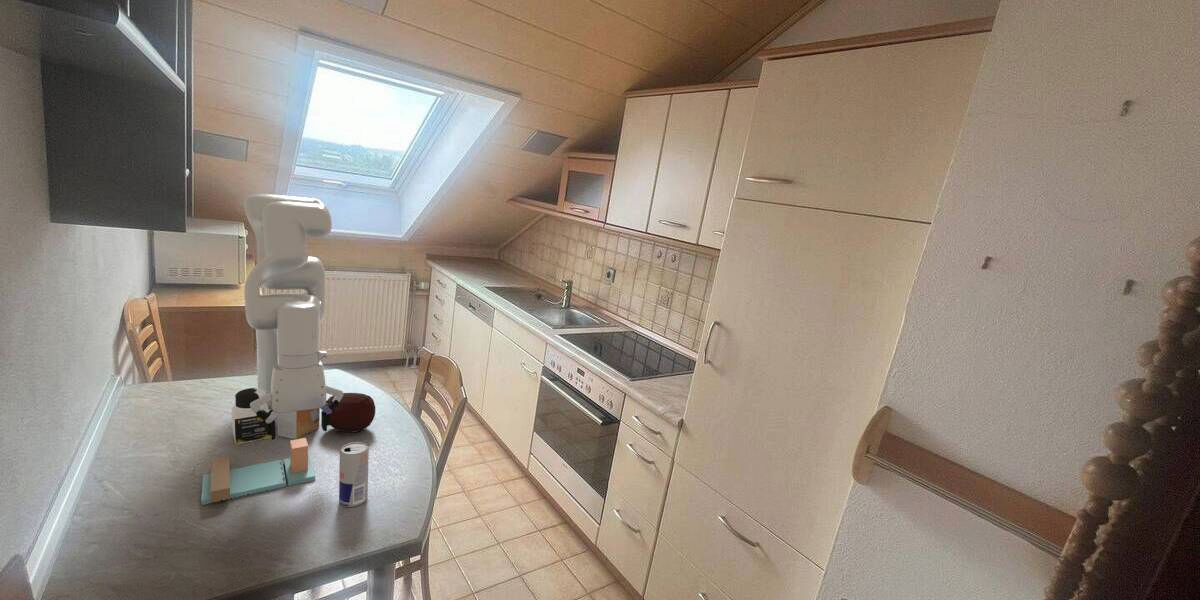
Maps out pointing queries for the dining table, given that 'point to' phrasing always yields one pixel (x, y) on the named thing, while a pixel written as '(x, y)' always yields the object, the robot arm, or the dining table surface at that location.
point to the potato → (352, 412)
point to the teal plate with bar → (240, 480)
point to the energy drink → (353, 474)
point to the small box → (298, 423)
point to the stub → (299, 463)
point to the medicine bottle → (248, 417)
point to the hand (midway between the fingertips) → (299, 433)
